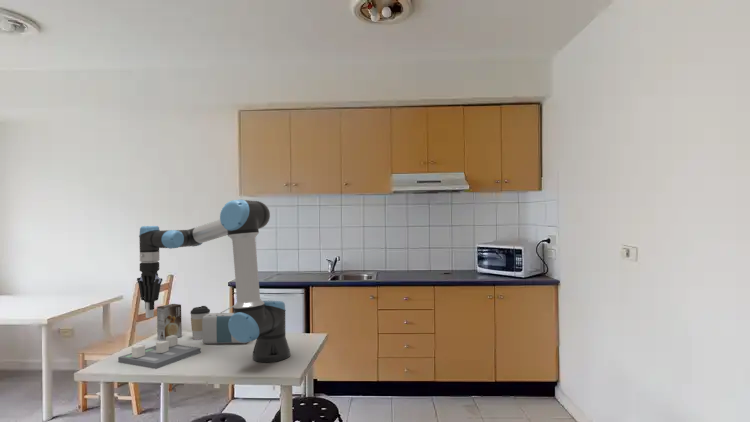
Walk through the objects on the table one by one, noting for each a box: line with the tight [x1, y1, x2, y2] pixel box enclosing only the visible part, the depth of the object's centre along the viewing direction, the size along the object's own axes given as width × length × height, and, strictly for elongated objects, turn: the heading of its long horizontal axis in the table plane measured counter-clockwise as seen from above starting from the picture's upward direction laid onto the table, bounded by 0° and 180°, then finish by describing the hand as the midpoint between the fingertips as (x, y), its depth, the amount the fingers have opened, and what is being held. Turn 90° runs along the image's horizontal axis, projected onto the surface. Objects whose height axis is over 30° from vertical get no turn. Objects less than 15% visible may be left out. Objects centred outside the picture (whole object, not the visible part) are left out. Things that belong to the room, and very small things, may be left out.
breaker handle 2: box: [166, 335, 179, 347], centre depth 189 cm, size 3×4×4 cm
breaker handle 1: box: [131, 344, 146, 358], centre depth 174 cm, size 3×4×4 cm
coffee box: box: [156, 303, 183, 341], centre depth 210 cm, size 9×6×16 cm
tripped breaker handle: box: [155, 340, 169, 353], centre depth 180 cm, size 3×4×4 cm
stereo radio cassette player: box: [202, 305, 247, 345], centre depth 201 cm, size 21×8×20 cm, turn 88°
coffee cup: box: [189, 305, 211, 341], centre depth 210 cm, size 9×9×15 cm
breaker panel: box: [117, 344, 202, 370], centre depth 180 cm, size 22×22×2 cm
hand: (149, 317), depth 183 cm, fingers closed
